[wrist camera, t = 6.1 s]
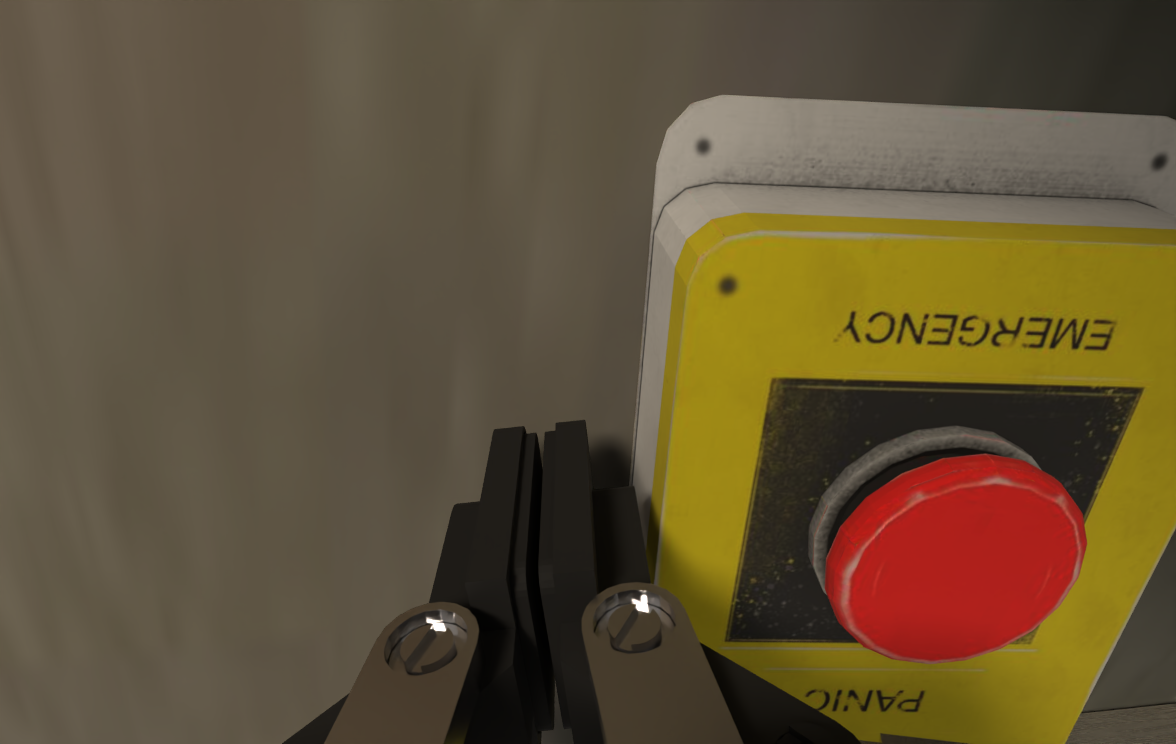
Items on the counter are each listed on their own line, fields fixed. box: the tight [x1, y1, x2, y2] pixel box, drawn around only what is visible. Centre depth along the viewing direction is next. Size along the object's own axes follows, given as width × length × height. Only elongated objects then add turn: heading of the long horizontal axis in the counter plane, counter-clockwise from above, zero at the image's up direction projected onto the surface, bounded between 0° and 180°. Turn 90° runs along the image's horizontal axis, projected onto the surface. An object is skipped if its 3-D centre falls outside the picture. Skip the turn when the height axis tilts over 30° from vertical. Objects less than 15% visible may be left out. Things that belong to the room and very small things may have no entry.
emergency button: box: [629, 95, 1176, 744], centre depth 13 cm, size 9×4×15 cm
